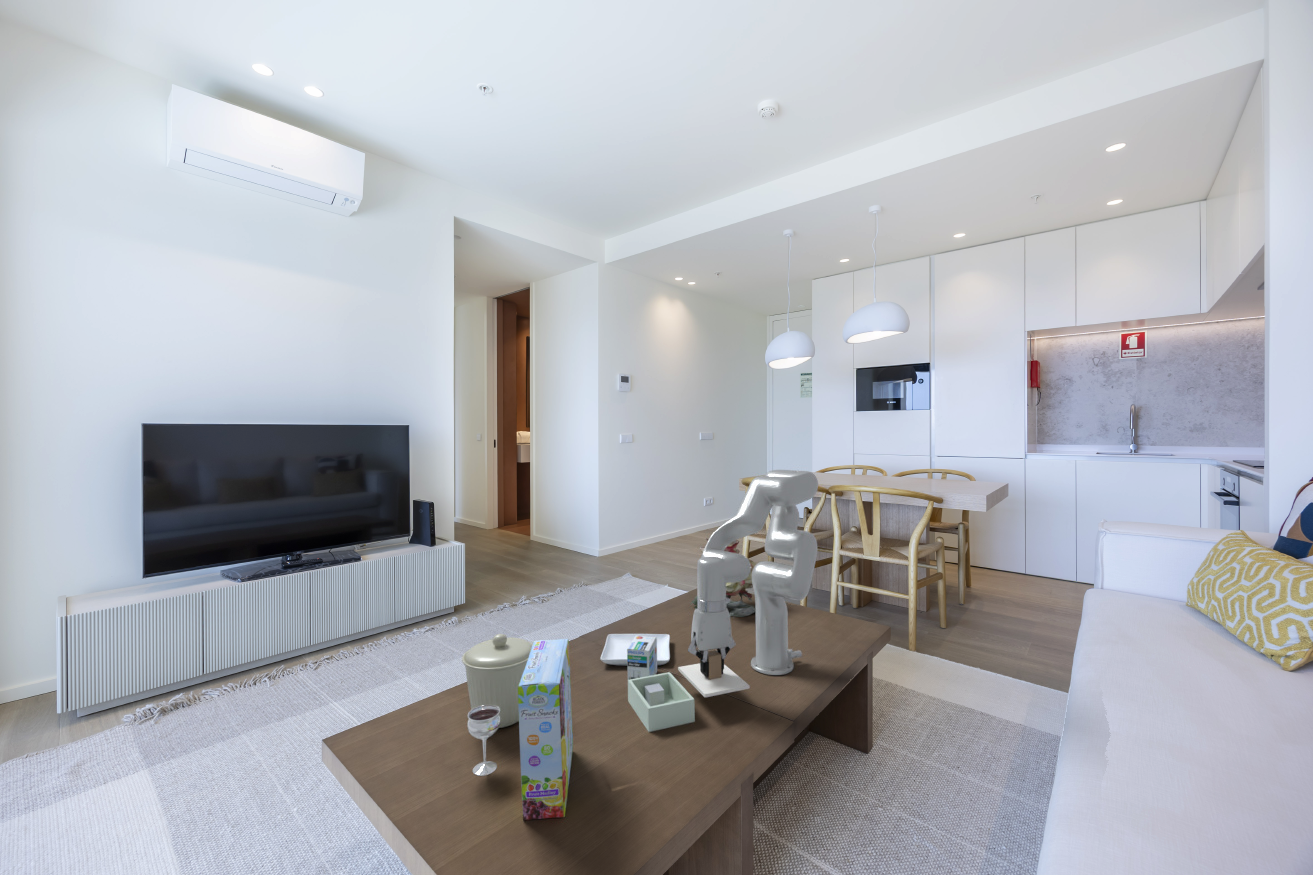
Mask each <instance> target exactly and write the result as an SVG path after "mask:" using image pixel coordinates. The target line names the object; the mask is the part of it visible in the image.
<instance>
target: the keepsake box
mask: <svg viewBox="0 0 1313 875" xmlns="http://www.w3.org/2000/svg"><path fill="white" fill-rule="evenodd" d="M658 683H659V684H660V686H661V687H662V688H663V689H664V704H660V705H655V706H650V705H649V704H648V703H647V701H646V700H645V686H648V685H653V684H658ZM627 700H628V703H629V705H630V706H631V708H632V709H633V711H634V712H635V714H636V715H637V717H638V718H639V720H640V721H641V723H642V724H643V726H644V727H645V729H646V730H647V732H648V733H651V732H655V731H660V730H664V729H668V728H674V727H678V726H682V725H686V724H691V723H695V722H696V719H695V718H696V717H695V716H696V714H695V713H696V711H695V708H696V707H695V698H694V697H693V696H692V695H691V694H690V693H689V692H688V691H687V689H686V688H685V687H684V686H683V684H681V682H679V680H677V678H676V677H675V676H674V675H673V674H672V673H671V672H663V673H658V674H657V673H656V675H652V676H646V677H641V678H635V679H630V680H628V679H627Z"/></svg>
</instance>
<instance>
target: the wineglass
mask: <svg viewBox="0 0 1313 875" xmlns="http://www.w3.org/2000/svg"><path fill="white" fill-rule="evenodd" d="M499 712H500V708H499V707H497V706H495V705H483V706H479V707H476V708H474V709H472V710H471V709H470V710H469V711H468V713H467V718H468V720H467V724H466V725H467V731H468V732H469V734H470V735H471V736H472V737H474V738H475V739H477V740H478V739H479V740H481V741H482V753H483V754H482V755H483V761H481V762H479V763H478V764H476V765H475V766H474V767H473V768H472V773H473V774H474V775H476V776H481V777H484V776H488V775H490V774H492V773H494V772H495V771H496V769H497V768H498V766H497V763H496V762H494V761H490V760H488V761H487V739H488V738H490V737H492V736H493V735H494V734H495V733H496V732H497V731H498V730H499V729H500V728H499V725H500V720H501V719H500V716H499Z"/></svg>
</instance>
